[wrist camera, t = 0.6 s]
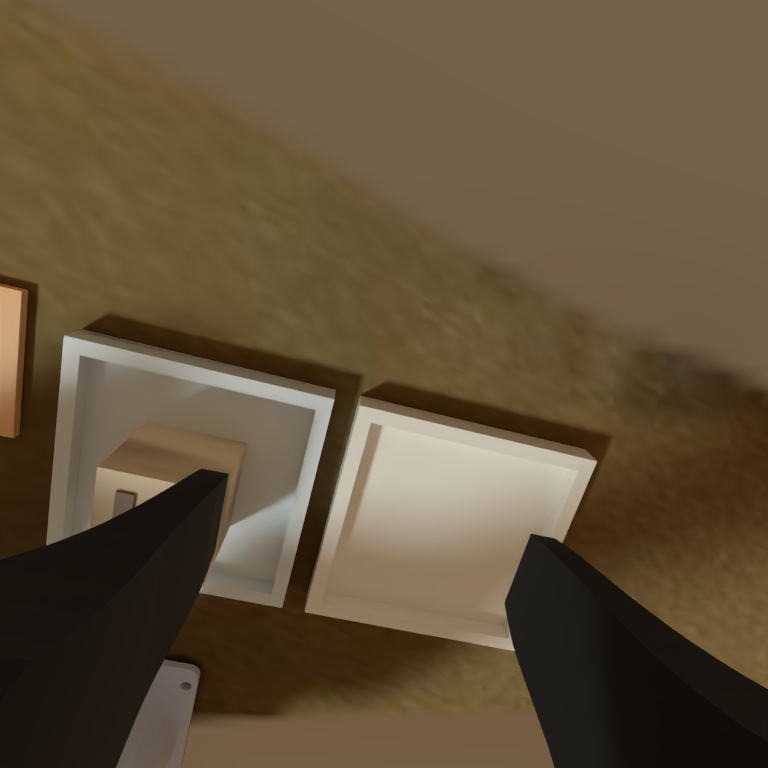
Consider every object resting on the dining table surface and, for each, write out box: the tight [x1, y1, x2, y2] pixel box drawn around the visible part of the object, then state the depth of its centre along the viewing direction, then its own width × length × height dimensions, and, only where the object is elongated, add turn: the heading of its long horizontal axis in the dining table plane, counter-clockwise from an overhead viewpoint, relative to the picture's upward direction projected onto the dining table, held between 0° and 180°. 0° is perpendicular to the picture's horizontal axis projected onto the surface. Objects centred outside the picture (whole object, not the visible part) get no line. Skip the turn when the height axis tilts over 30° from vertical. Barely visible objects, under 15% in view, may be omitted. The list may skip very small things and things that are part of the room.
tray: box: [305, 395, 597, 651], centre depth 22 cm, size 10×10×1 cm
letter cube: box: [90, 421, 247, 590], centre depth 19 cm, size 4×4×4 cm
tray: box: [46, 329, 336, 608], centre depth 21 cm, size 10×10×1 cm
